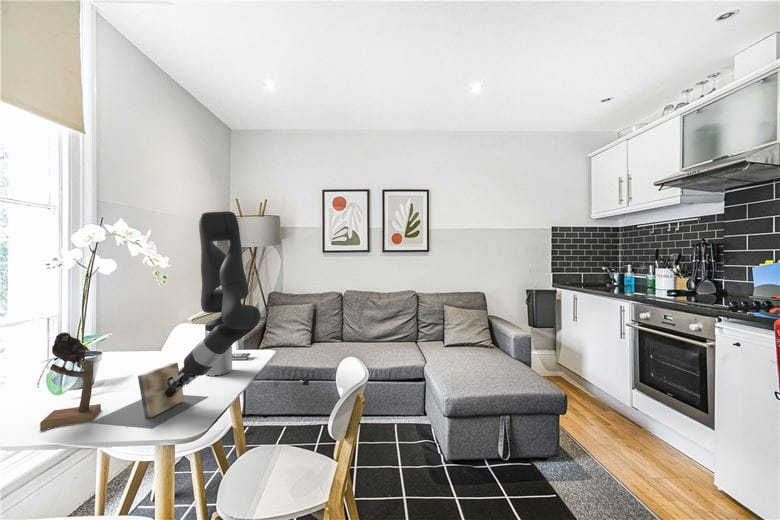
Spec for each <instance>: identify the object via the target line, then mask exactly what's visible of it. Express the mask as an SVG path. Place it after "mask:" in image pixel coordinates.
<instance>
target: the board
mask: <svg viewBox="0 0 780 520" xmlns="http://www.w3.org/2000/svg"><path fill="white" fill-rule="evenodd" d="M178 363H179V362H173V363H169V364H166V365H163V366H161V367H158V368H156V369H152V370H150V371H148V372H143V373H142V374H139V375H137V379H138V385H139V386H138V387H139V391H140V396H141V397H140V398H141V399H142V403H143V409H144V415H145V418H150V417H154V416H155V415H157V414H159V413H161V412H163V411H165V410H167V409H169V408H171V407H173V406H174V405H176V404H178V403H180V402H182V401H184V396H183V395H184V391H183V388H181V389H179V390H178V392H177V393H176V394H175V395H174V396H172V397H170V398H168V397H167V396H166V394H165V392H166V391H167V389H168V388H169V386H168V385H167V380H168V378H170V377H174V378H175V376H176V375H177V374H178V373H179V371H180V369H179V364H178Z"/></svg>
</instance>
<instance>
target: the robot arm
mask: <svg viewBox="0 0 780 520" xmlns="http://www.w3.org/2000/svg"><path fill="white" fill-rule="evenodd" d="M239 226H240V225H239V222H238V217H237V216H236V214H235V213H234V212H233V211H209V212H207V211H206V212H202V213H201V214H200V215H199V219H198V231H199V238H200V239H199V242H200V248H201V249H200V251H201V253H200V255H201V257H200V275H201V295H200V296H201V297H200V307H201V309H202V311H203V312H204V313H206V314H212V313H221V314H220V315H219V316H218V317H217V318H215V319H213V320H210V321H208V322H206V323H205V325H204V326H205V327H204V338H203V339H202V340H201V341H199V342H198V343H197V344H196V346H194V348H193V349H192V350H191V351H190V352H189V353H188V354H187V355H186V357H184V359H183V367H181V369H179V373H178V374H177V375H176V376H175V378H174V377H170V378H168V380H167V385H168V386H169V388H168V389H167V391H166V392H165V394H166V396H167V397H168V398H170V397H172V396H174V395H175V394H176V393H177V392H178V390H179V389H181V388H182V389H183V388H184V387H185V386H187V385H190V383H192V381H194V380H195V379H196V378H198V377H202V376H204V375H205V376H208V375H209V376H210V377H215V375H218V376H222V375H221V374H223V375H226V373H227V374H229V373H231V371H232V370H233V347H232V346H233V344H235V343H236V342H237V341H240V340H241V339H242V338H244V337H246V336H247V335H248V334H249V333H251V332H252V331H253V330H254V329H255V328H256V327H258V324H259V322H260V320H261V318H262V317H261V311H260V309H259V308H258V307H257V306H255V305H250V304H243V303H242V300H244V299H245V298H247V297H248V296H249V291H250V290H249V289H250V288H249V285H248V282H247V281H248V280H247V277H246V273H245V268H244V261H243V251H242V250H243V249H242V241H241V232H240V227H239ZM220 241H223V242H224V241H229V248H228V251H227V254H226V253H225V252H224V251H223V250H222V249H220V248H219V246H217V245H215V243H214V242H220ZM220 286H221V289H220ZM218 288H219V289H218ZM228 372H229V373H228ZM209 376H208V377H209Z"/></svg>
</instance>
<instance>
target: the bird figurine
mask: <svg viewBox="0 0 780 520" xmlns="http://www.w3.org/2000/svg"><path fill="white" fill-rule="evenodd" d="M51 352H52V354H53V355H54V357H56V358H58V359H60V360H61V361H63V365H62V366H59V365H57V364H55V363H52V365H51V366H50V367H49V370H51V371H53V372H54V373H57V374H59V375H65V376H66V377H73V378H81V379H82V389H81V397H80V402H79V406H77V407H75V406H74V407H68V408H61V409H60V408H59V409H55V410H53V411H52V412H51V413H49V414H48V415H47V416H46V417H44V419H42V420H41V422H40V423H39V425H40V426H39V429H40V431H43V430H42V429H44V430H49V429H48V428H51V429H56V428H58V427H60V426H66V425H67V426H68V425H74V424H80V423H87V422H92V421H94V420H95V417H96V416H97V415H98V414H99V413H100V412H101V410H102V408H101V407H102V406H101V405H102V404H101V403H98V404H97V403H96V404H91V405H90V402H91V399H92V390H93V380H94V378H93V377H94V360H92V359H91V360H86V355H85V354H86V353H89V352H91V350H90V349H89V347H87V346H86V345H85V344H83V343H82V342H81V340H80V339H79V338H76V337H73V336H71V334H70V333H69V332H60V333H58V334H57V335H55V340H54V342H53V345H52V347H51ZM67 362H70V363H72V368H71V369H67V367H65V365H66V363H67ZM75 364H76V366H77V368H78V369H81V366H82V369H83V371H80V370H74V369H75V368H74V367H75ZM55 427H56V428H55Z"/></svg>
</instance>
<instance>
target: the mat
mask: <svg viewBox="0 0 780 520" xmlns="http://www.w3.org/2000/svg"><path fill="white" fill-rule="evenodd" d="M183 396H184V401H182V402H180V403H178V404H176V405H174V406H173V407H171V408H169V409H167V410H165V411H163V412H161V413H159V414H157V415H155V416H154V417H150V418H145V415H144V409H143V403H142V398H141V399H138V400H136V401H135V402H134V401H133V402H132V403H130V404H128V405H127V404H126V405H125V406H124V407H123V406H122V407H121V408H119V409H117V410H115V411H112V412H110V413H108V414H105V415H103V416H101V417H99V418H97V419H93V420H92V421H89V424H95V425H106V426H107V425H108V426H116V427H117V426H119V427H126V428H127V427H130V428H137V429H138V428H139V429H155V428H157V427H158V426H160V425H162V424H164V423H165V422H167V421H168V420H169V421H170V420H171V419H172V418H174V417H176V416H178V415H180V414H181V413H183V412H185V411H186V410H188V409H190V408H192V407H193V406H195V405H197V404H200V403H201V402H202V401H205V400H206V399H208V398H209V396H204V395H190V394H189V395H188V394H183Z"/></svg>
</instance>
